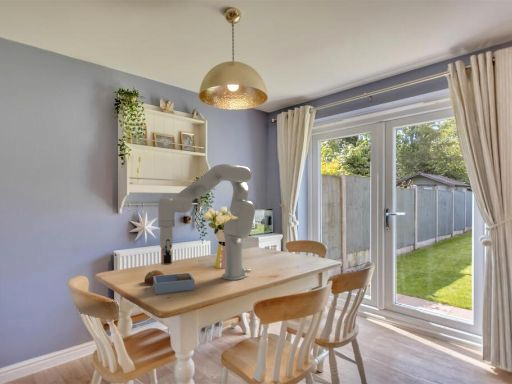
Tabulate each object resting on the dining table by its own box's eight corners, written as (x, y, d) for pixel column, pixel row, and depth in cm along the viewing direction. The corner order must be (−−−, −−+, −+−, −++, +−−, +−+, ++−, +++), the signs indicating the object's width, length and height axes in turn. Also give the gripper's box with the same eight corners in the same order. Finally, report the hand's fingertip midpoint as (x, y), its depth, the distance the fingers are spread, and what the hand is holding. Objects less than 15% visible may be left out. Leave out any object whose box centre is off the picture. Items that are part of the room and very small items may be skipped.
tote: (189, 282, 156) (189, 272, 156) (194, 290, 143) (194, 279, 143) (153, 286, 149) (153, 276, 149) (155, 294, 136) (155, 283, 136)
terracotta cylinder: (160, 263, 146) (160, 248, 146) (171, 262, 148) (171, 247, 148) (161, 265, 141) (161, 250, 141) (172, 264, 143) (172, 249, 143)
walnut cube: (177, 285, 149) (177, 274, 149) (187, 283, 151) (187, 273, 151) (178, 288, 145) (178, 277, 145) (189, 286, 146) (189, 276, 146)
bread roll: (160, 286, 161) (156, 271, 164) (170, 281, 156) (167, 265, 158) (143, 290, 154) (139, 275, 156) (153, 285, 148) (149, 269, 150)
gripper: (156, 222, 151) (156, 259, 151) (160, 226, 135) (160, 267, 135) (172, 221, 154) (172, 257, 154) (177, 225, 138) (177, 265, 138)
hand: (166, 261), depth 144 cm, fingers closed on terracotta cylinder, 5 cm apart
